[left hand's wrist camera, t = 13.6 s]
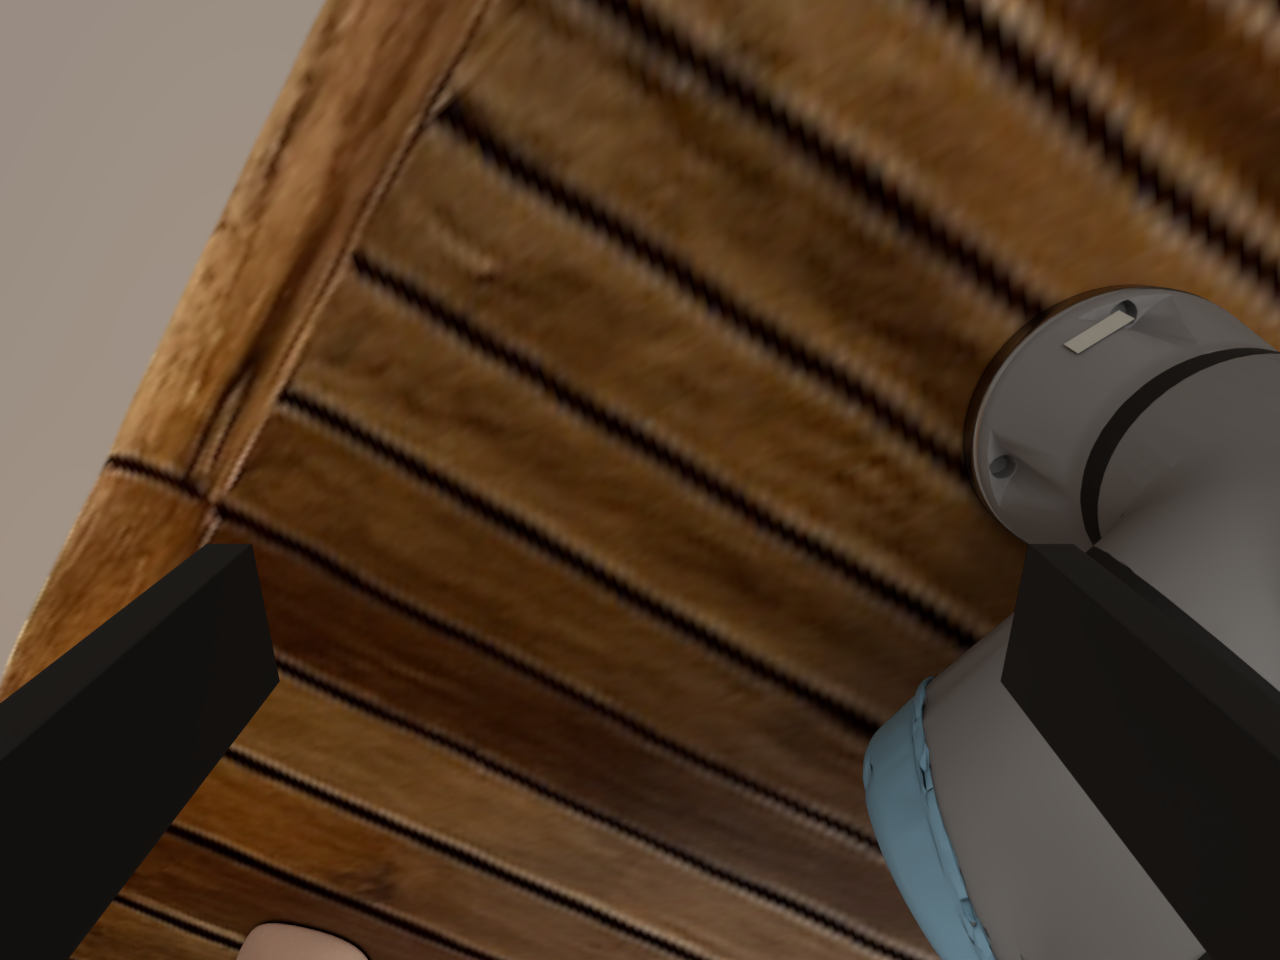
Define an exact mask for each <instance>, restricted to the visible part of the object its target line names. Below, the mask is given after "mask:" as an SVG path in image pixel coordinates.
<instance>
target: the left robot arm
mask: <svg viewBox="0 0 1280 960" xmlns="http://www.w3.org/2000/svg"><path fill="white" fill-rule="evenodd" d="M964 452H965V461H966V467H967V471H968V474H969V478H970V481H971V483H972V485H973V488H974V490H975V492H976V494H977V495H978V497H979V499H980V501H981V502H982V503H983V505H984V506H985V507H986V509H987V510H988V511H989V512H990V513H991V514H992V515H993V516H994V517H995V518H996V519H997V520H998V521H999V522H1000V523H1002V524H1003V525H1004V526H1005V527H1006V528H1007V529H1009V530H1010V531H1011V532H1012V533H1013V534H1014V535H1016V536H1017V537H1019V538H1020V539H1022V540H1023V541H1025V542H1027V543H1029V544H1028V548H1027V553H1026V557H1025V562H1024V567H1023V572H1022V577H1021V582H1020V587H1019V592H1018V597H1017V602H1016V607H1015V611H1014V612H1013V613H1012V614H1011V615H1010V616H1008V617H1007V618H1006V619H1005V620H1004V621H1002V622H1001V623H1000V624H999V625H998V626H996V627H995V628H994V629H993V630H992V631H990V632H989V633H988V634H987V635H986V636H984V637H983V638H982V639H981V640H980V641H978V642H977V643H976V644H975V645H974V646H972V647H971V648H970V649H969V650H968V651H966V652H965V653H964V654H963V655H962V656H960V657H959V658H958V659H957V660H956V661H954V662H953V663H952V664H951V665H950V666H948V667H947V668H946V669H945V670H943V671H942V672H941V673H940V674H939V675H937V676H936V677H934V676H929V677H928V678H926V679H925V680H923V681H922V682H921V683H920V685H919V686H918V688H917V690H916V693H915V696H914V697H913V698H911V699H910V700H909V701H908V702H907V703H906V704H905V705H904V706H903V707H902V708H901V709H900V710H899V711H897V712H896V713H895V714H894V715H893V716H892V717H891V718H890V719H889V720H888V721H887V722H886V723H885V724H883V725H882V726H881V727H880V728H879V729H878V730H877V731H876V733H875V734H874V735H873V737H872V739H871V740H870V742H869V745H868V747H867V749H866V753H865V756H864V763H863V782H864V787H865V792H866V794H865V796H866V805H867V809H868V813H869V817H870V820H871V824H872V827H873V830H874V833H875V836H876V839H877V841H878V844H879V847H880V849H881V852H882V854H883V856H884V859H885V861H886V863H887V866H888V868H889V870H890V872H891V874H892V877H893V879H894V881H895V883H896V885H897V887H898V889H899V891H900V893H901V894H902V896H903V898H904V900H905V902H906V904H907V906H908V907H909V909H910V911H911V913H912V914H913V916H914V918H915V920H916V921H917V923H918V925H919V926H920V928H921V930H922V931H923V933H924V934H925V936H926V938H927V939H928V941H929V942H930V944H931V945H932V947H933V948H934V950H935V951H936V953H937V954H938V955H939V957H940V958H941V959H942V960H1280V352H1278V351H1277V350H1276V349H1274V348H1273V347H1272V346H1271V345H1269V344H1268V343H1267V342H1266V341H1264V340H1263V339H1262V338H1261V337H1259V336H1258V335H1257V334H1255V333H1254V332H1253V331H1252V330H1250V329H1249V328H1248V327H1247V326H1245V325H1244V324H1243V323H1242V322H1240V321H1239V320H1238V319H1237V318H1235V317H1234V316H1233V315H1231V314H1230V313H1229V312H1227V311H1226V310H1224V309H1223V308H1221V307H1220V306H1218V305H1216V304H1214V303H1212V302H1210V301H1208V300H1206V299H1204V298H1202V297H1200V296H1197V295H1194V294H1191V293H1188V292H1185V291H1180V290H1175V289H1169V288H1163V287H1156V286H1149V285H1117V286H1108V287H1104V288H1099V289H1094V290H1091V291H1088V292H1084V293H1081V294H1078V295H1076V296H1073V297H1071V298H1069V299H1066V300H1064V301H1062V302H1060V303H1058V304H1056V305H1054V306H1052V307H1051V308H1049V309H1047V310H1046V311H1044V312H1043V313H1041V314H1039V315H1038V316H1037V317H1035V318H1034V319H1033V320H1031V321H1030V322H1028V323H1027V324H1026V325H1025V326H1024V327H1022V328H1021V329H1020V330H1019V331H1018V332H1017V333H1016V334H1015V335H1014V336H1013V337H1012V338H1011V339H1010V340H1009V341H1008V342H1007V343H1006V344H1005V345H1004V346H1003V347H1002V349H1001V350H1000V351H999V352H998V354H997V355H996V356H995V357H994V359H993V360H992V362H991V363H990V365H989V366H988V368H987V369H986V371H985V373H984V375H983V376H982V378H981V380H980V382H979V384H978V386H977V388H976V391H975V393H974V395H973V398H972V401H971V404H970V407H969V411H968V415H967V419H966V426H965V434H964ZM278 683H279V676H278V671H277V666H276V661H275V656H274V651H273V646H272V641H271V636H270V631H269V626H268V622H267V617H266V612H265V607H264V602H263V597H262V592H261V587H260V582H259V577H258V572H257V567H256V562H255V557H254V553H253V548H252V544H206V545H204V546H203V547H202V548H201V549H199V550H198V551H197V552H195V553H194V554H193V555H191V556H190V557H189V558H188V559H186V560H185V561H184V562H182V563H181V564H180V565H179V566H177V567H176V568H175V569H173V570H172V571H171V572H170V573H168V574H167V575H166V576H164V577H163V578H162V579H160V580H159V581H158V582H157V583H155V584H154V585H153V586H151V587H150V588H149V589H148V590H146V591H145V592H144V593H142V594H141V595H140V596H139V597H137V598H136V599H135V600H133V601H132V602H131V603H129V604H128V605H127V606H126V607H124V608H123V609H122V610H120V611H119V612H118V613H117V614H115V615H114V616H113V617H111V618H110V619H109V620H108V621H106V622H105V623H104V624H102V625H101V626H100V627H98V628H97V629H96V630H95V631H93V632H92V633H91V634H89V635H88V636H87V637H86V638H84V639H83V640H82V641H80V642H79V643H78V644H77V645H75V646H74V647H73V648H71V649H70V650H69V651H67V652H66V653H65V654H64V655H62V656H61V657H60V658H58V659H57V660H56V661H55V662H53V663H52V664H51V665H49V666H48V667H47V668H46V669H44V670H43V671H42V672H40V673H39V674H38V675H36V676H35V677H34V678H33V679H31V680H30V681H29V682H27V683H26V684H25V685H24V686H22V687H21V688H20V689H18V690H17V691H16V692H15V693H13V694H12V695H11V696H9V697H8V698H7V699H6V700H4V701H3V702H2V703H0V960H68V958H69V957H70V956H71V954H72V953H73V952H74V951H75V949H76V948H77V947H78V945H79V944H80V943H81V941H82V940H83V939H84V937H85V936H86V935H87V933H88V932H89V931H90V930H91V928H92V927H93V926H94V924H95V923H96V922H97V920H98V919H99V918H100V916H101V915H102V914H103V912H104V911H105V910H106V909H107V907H108V906H109V905H110V903H111V902H112V901H113V899H114V898H115V897H116V895H117V894H118V893H119V891H120V890H121V889H122V888H123V886H124V885H125V884H126V882H127V881H128V880H129V878H130V877H131V876H132V874H133V873H134V872H135V870H136V869H137V868H138V867H139V865H140V864H141V863H142V861H143V860H144V859H145V857H146V856H147V855H148V853H149V852H150V851H151V849H152V848H153V847H154V846H155V844H156V843H157V842H158V840H159V839H160V838H161V836H162V835H163V834H164V832H165V831H166V830H167V828H168V827H169V826H170V825H171V823H172V822H173V821H174V819H175V818H176V817H177V815H178V814H179V813H180V811H181V810H182V809H183V807H184V806H185V805H186V804H187V802H188V801H189V800H190V798H191V797H192V796H193V794H194V793H195V792H196V790H197V789H198V788H199V786H200V785H201V784H202V783H203V781H204V780H205V779H206V777H207V776H208V775H209V773H210V772H211V771H212V769H213V768H214V767H215V765H216V764H217V763H218V762H219V760H220V759H221V758H222V756H223V755H224V754H225V752H226V751H227V750H228V748H229V747H230V746H231V744H232V743H233V742H234V741H235V739H236V738H237V737H238V735H239V734H240V733H241V731H242V730H243V729H244V727H245V726H246V725H247V723H248V722H249V721H250V720H251V718H252V717H253V716H254V714H255V713H256V712H257V710H258V709H259V708H260V706H261V705H262V704H263V702H264V701H265V700H266V699H267V697H268V696H269V695H270V693H271V692H272V691H273V689H274V688H275V687H276V685H277V684H278Z"/></svg>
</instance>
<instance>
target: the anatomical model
mask: <svg viewBox="0 0 1280 960" xmlns="http://www.w3.org/2000/svg"><path fill="white" fill-rule="evenodd" d="M236 960H368V959H367V958H366V956H365V955H364V954H363V953H362V952H361V951H360V950H359V949H358V948H356V947H355V946H353V945H352V944H350V943H349V942H347V941H345V940H343V939H340V938H338V937H335V936H333V935H330V934H327V933H324V932H321V931H317V930H313V929H309V928H304V927H300V926H295V925H288V924H281V923H267V924H262V925H259V926H257V927H256V928H254V929H253V930H252V931H251V933H250V934H249V935H248V937H247V938H246V940H245V942H244V944H243V946H242V947H241V949H240V951H239V953H238V956H237V959H236Z"/></svg>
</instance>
